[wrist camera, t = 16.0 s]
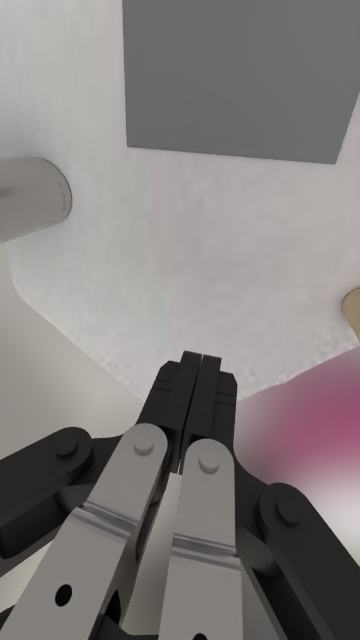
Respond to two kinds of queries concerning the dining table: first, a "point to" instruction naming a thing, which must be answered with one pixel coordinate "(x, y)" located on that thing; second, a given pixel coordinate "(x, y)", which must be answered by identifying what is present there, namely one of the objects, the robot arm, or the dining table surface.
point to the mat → (242, 76)
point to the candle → (353, 310)
